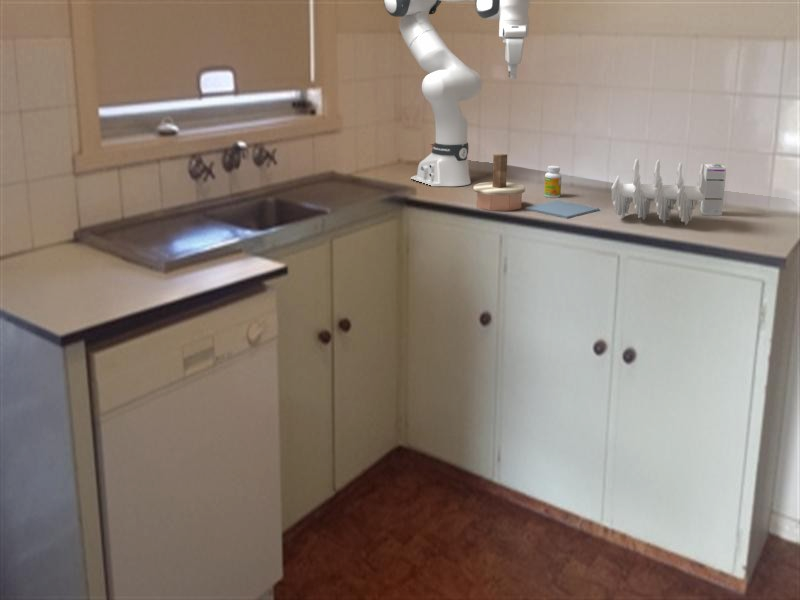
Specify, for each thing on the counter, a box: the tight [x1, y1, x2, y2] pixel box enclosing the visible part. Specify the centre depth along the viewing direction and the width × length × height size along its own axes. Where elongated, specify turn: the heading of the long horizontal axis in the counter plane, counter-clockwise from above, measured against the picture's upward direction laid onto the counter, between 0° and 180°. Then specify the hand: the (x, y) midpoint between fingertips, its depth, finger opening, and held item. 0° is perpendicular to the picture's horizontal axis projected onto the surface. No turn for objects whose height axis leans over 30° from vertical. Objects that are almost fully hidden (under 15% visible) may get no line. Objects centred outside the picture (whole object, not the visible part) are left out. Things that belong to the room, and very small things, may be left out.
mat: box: [524, 199, 601, 219], centre depth 265 cm, size 16×16×1 cm
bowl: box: [476, 192, 523, 212], centre depth 270 cm, size 14×14×5 cm
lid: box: [473, 153, 526, 195], centre depth 268 cm, size 16×16×11 cm
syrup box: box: [699, 163, 727, 217], centre depth 258 cm, size 6×6×14 cm
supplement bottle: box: [543, 165, 562, 199], centre depth 283 cm, size 5×5×10 cm
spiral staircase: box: [610, 158, 705, 226], centre depth 250 cm, size 18×18×25 cm
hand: (512, 78), depth 266 cm, fingers open, 8 cm apart
